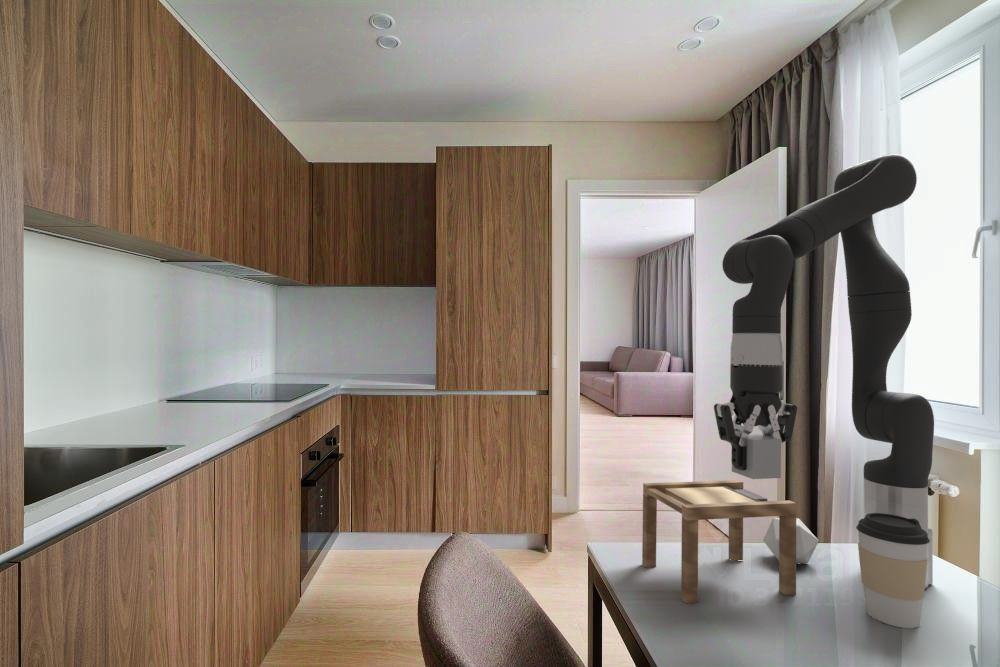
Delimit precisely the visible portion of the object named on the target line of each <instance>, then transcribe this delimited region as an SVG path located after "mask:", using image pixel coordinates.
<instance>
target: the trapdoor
mask: <svg viewBox="0 0 1000 667" xmlns="http://www.w3.org/2000/svg"><path fill="white" fill-rule="evenodd" d="M665 494H666V495H668V496H670V497H671V498H673V499H675V500H677V501H679V502H680V503H682V504H684V505H692V504H716V503H740V502H764V501H768V498H767V497H764V496H762V495H760V494H756V493H755V492H752V491H750V490H747V489H744V488H743V489H742V490H733V489H731V488H729V487H726V486H723V487H697V488H668V489H665Z"/></svg>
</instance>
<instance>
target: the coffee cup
mask: <svg viewBox="0 0 1000 667" xmlns="http://www.w3.org/2000/svg"><path fill="white" fill-rule="evenodd" d="M855 529H856V530H857V534H858V543H857V550H858V556H859V557H858V560H859V568H860V569H859V570H860V578H861V583H862V588H863V591H862V592H863V599H864V611H865V612H866V614H867V615H868V616H870V617H871V616H872V618H873V617H874V618H873V619H875V618H876V619H877V621H879V620H880V621H879V622H881V621H882V622H881V623H884V624H886V625H889V626H893V627H897V628H902V629H916V628H918V627H920V626H921V620H922V610H923V600H924V598H925V589H926V588H925V581H926V572H927V563H928V557H927V548H928V543H929V542H930V540H929V538H928V534H927V532H926V531H924V530H923V529H922V528H921V526H920V523H919V521H918V520H917V519H914V518H912V519H908V518H905V517H901V516H896V515H891V514H884V513H869V514H867V515H866V516H865V517H864V516H863V518H861V519H860V520H858V524H857V525H856V526H855ZM876 619H875V620H876Z"/></svg>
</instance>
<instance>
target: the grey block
mask: <svg viewBox="0 0 1000 667" xmlns="http://www.w3.org/2000/svg"><path fill="white" fill-rule="evenodd" d="M745 447H747V469H746V470H739V469H736V468H735V467H734V465H732V464H731V472H733V473H735V474H738V475H741V476H744V477H747V478H748V479H752V480H762V479H766V480H767V479H782V474H781V473H782V443H781V439H777V438H772V437H769V436H764V435H763V434H760V433H750V434H749V436H748V438H747V442H746V445H745Z"/></svg>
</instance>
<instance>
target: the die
mask: <svg viewBox="0 0 1000 667" xmlns="http://www.w3.org/2000/svg"><path fill="white" fill-rule="evenodd" d="M762 541H763V544H765V546H767V548H768V549H769V551H771V553H772V554H773V555H774V556H775V558H776V559H777V560H778V561H779V517H772V520H771V522H770V524H769V526H768V528H767V531H766V532H765V535H764V536H763V539H762ZM819 542H820V541H819V539H818V538H817V536H815V535H814V534H813V533H812V530H810V529H809V528H808V527H807V526H806V525H805V524H804V522H803V521H802V520H801V519H800V518H797V517H796V563H808V564H809V562H810V560H811V558H812V556H813V554H814V552H815V550H816V548H817V546H818V543H819Z"/></svg>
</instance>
